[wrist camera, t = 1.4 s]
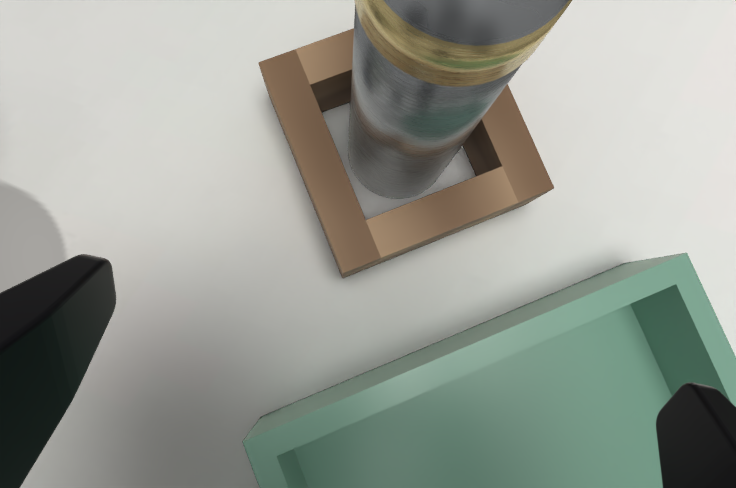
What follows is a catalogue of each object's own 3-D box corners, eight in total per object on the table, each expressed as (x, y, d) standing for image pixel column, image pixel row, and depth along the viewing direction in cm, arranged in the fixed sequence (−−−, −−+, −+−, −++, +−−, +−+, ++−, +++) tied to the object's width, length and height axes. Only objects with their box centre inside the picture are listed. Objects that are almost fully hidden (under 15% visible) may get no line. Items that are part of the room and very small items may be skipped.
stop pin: (369, 214, 22) (411, 77, 9) (331, 122, 22) (320, -137, 9) (462, 178, 22) (631, -5, 9) (424, 87, 23) (534, -208, 10)
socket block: (342, 278, 22) (342, 273, 19) (269, 95, 22) (258, 62, 19) (525, 204, 22) (554, 188, 19) (448, 30, 23) (464, -12, 20)
